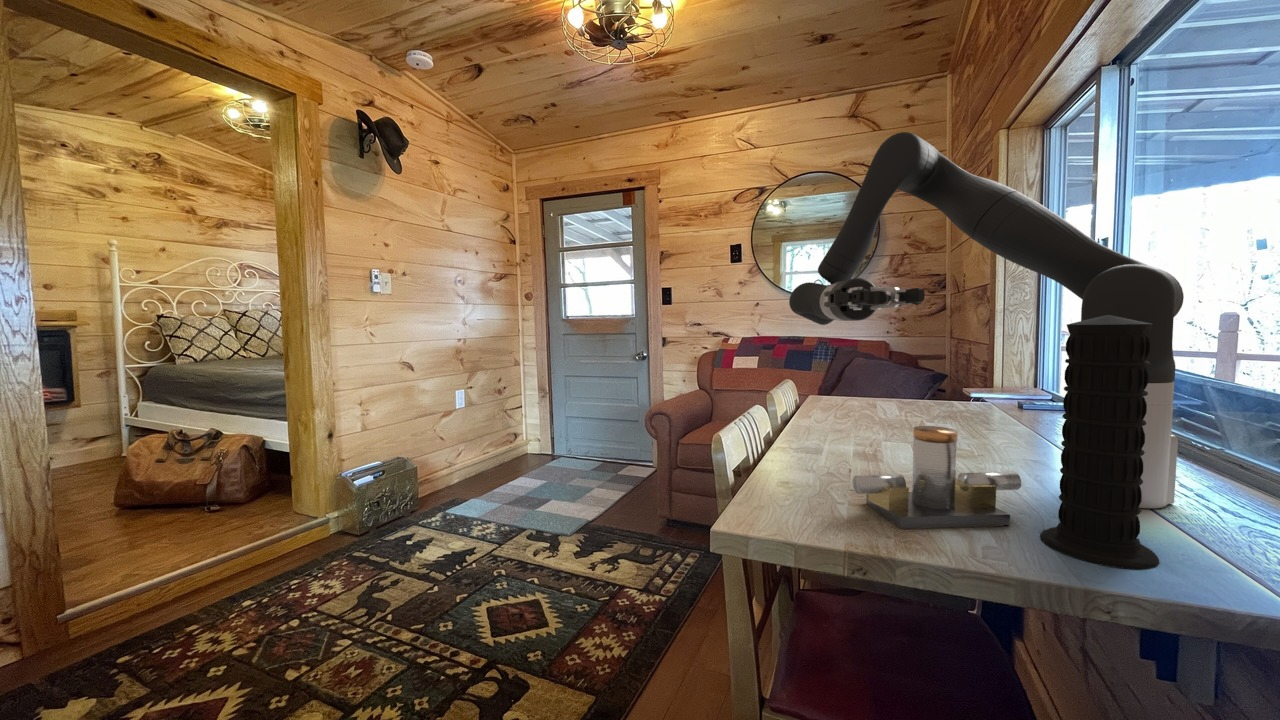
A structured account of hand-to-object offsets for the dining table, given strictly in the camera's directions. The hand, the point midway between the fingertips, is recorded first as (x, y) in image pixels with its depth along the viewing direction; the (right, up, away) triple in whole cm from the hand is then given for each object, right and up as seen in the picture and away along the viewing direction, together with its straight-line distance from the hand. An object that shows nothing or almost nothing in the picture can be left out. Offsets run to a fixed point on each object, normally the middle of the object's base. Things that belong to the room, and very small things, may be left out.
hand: (894, 295), depth 76 cm
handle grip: (+13, -31, -20) cm, 39 cm away
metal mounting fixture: (+1, -31, -9) cm, 32 cm away
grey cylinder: (+1, -29, -9) cm, 31 cm away
